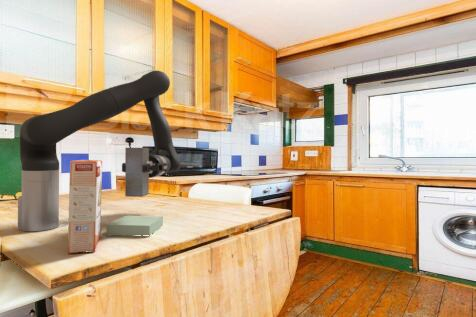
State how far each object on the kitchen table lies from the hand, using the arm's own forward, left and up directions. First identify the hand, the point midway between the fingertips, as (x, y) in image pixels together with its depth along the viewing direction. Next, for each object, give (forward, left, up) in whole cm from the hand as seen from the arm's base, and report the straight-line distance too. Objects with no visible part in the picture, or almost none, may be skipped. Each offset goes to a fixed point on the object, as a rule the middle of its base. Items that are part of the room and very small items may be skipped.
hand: (133, 168), depth 82 cm
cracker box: (-7, -11, -19) cm, 23 cm away
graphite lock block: (0, +3, -8) cm, 8 cm away
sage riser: (0, +3, -18) cm, 18 cm away
